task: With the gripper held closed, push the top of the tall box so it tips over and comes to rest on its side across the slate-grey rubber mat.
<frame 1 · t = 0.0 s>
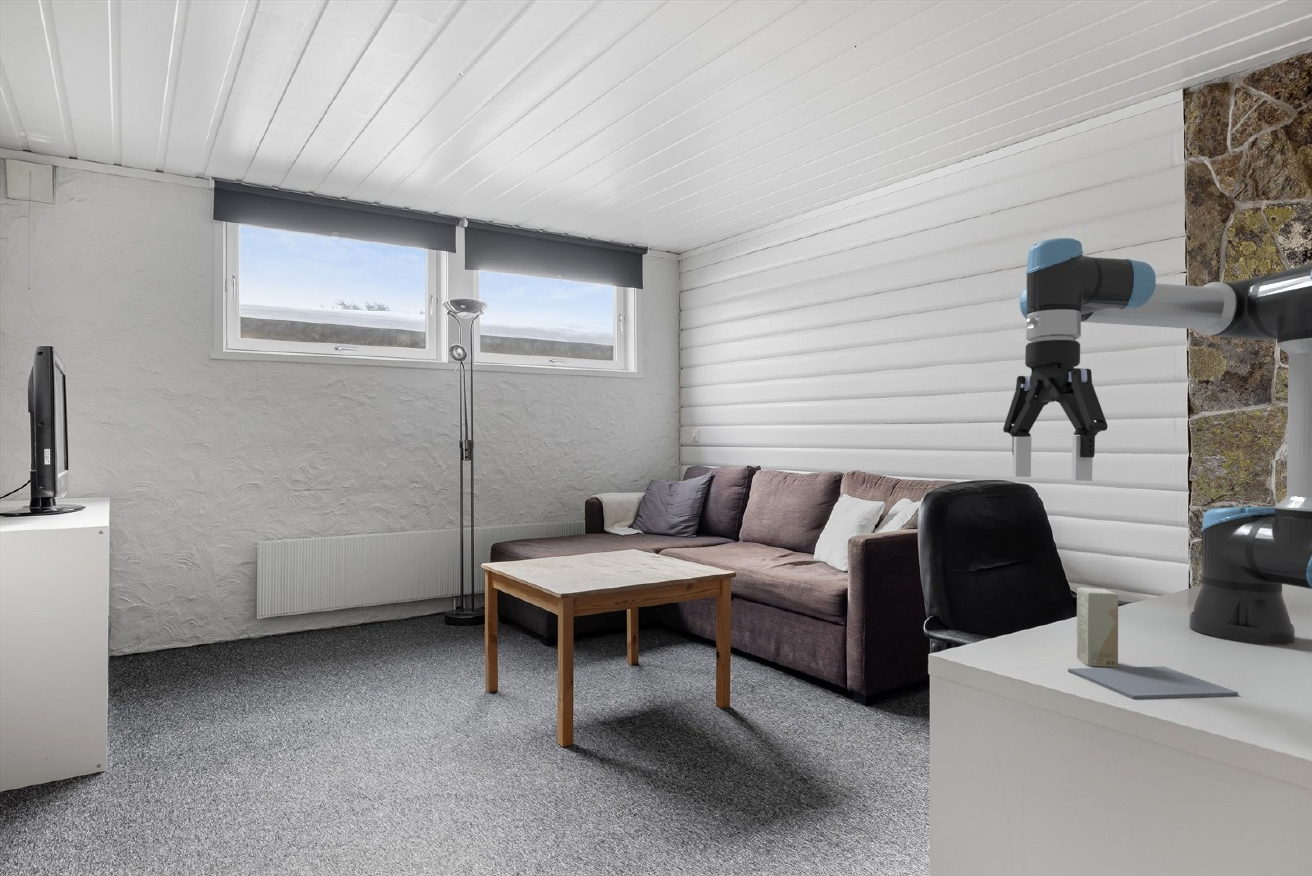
hand: (1050, 478, 116), 28 cm above the table, tool pointing down, fingers open, 13 cm apart
mat: (1149, 682, 105), on the table
box: (1096, 664, 115), on the table
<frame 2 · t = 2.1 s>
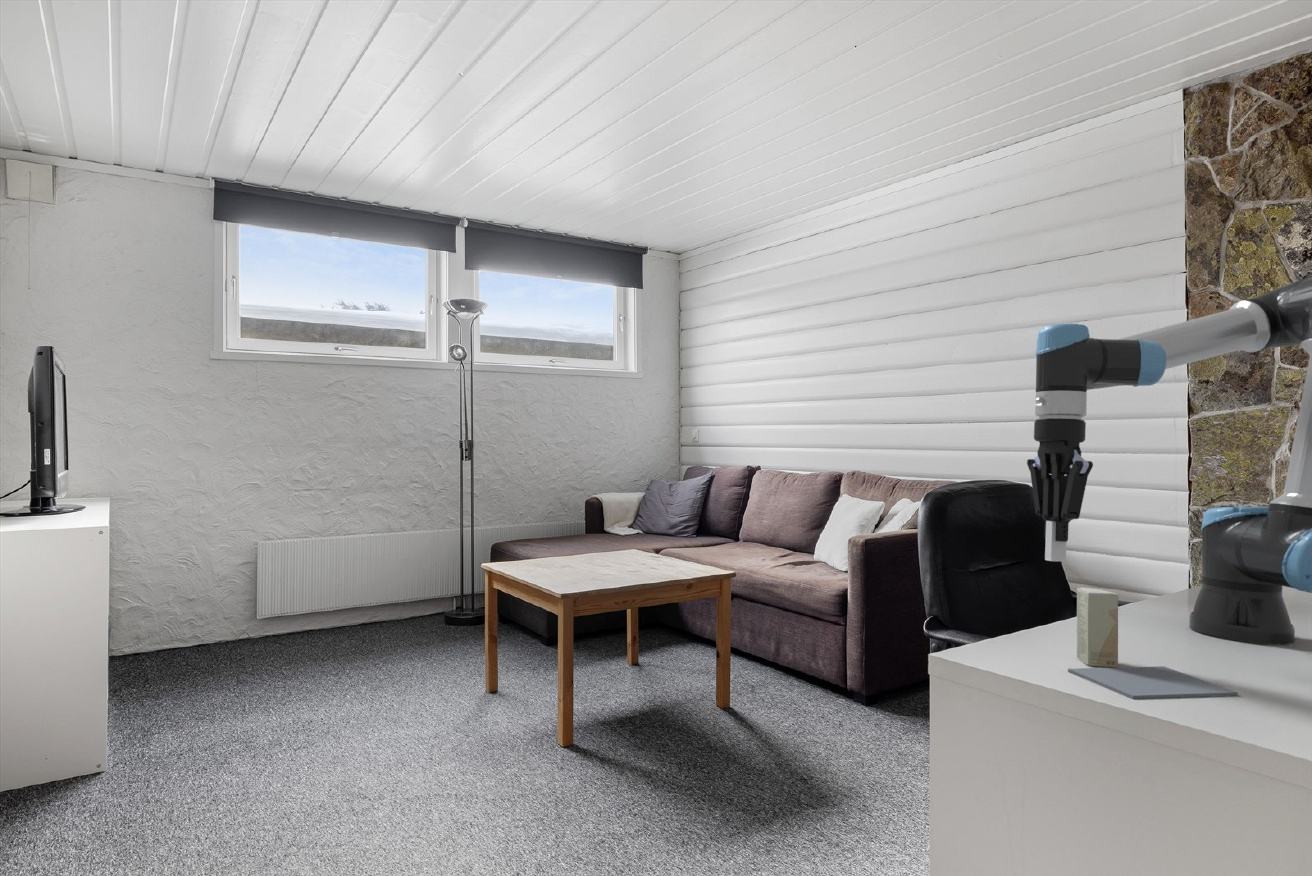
hand: (1055, 560, 124), 14 cm above the table, tool pointing down, fingers closed
nothing on the table moved.
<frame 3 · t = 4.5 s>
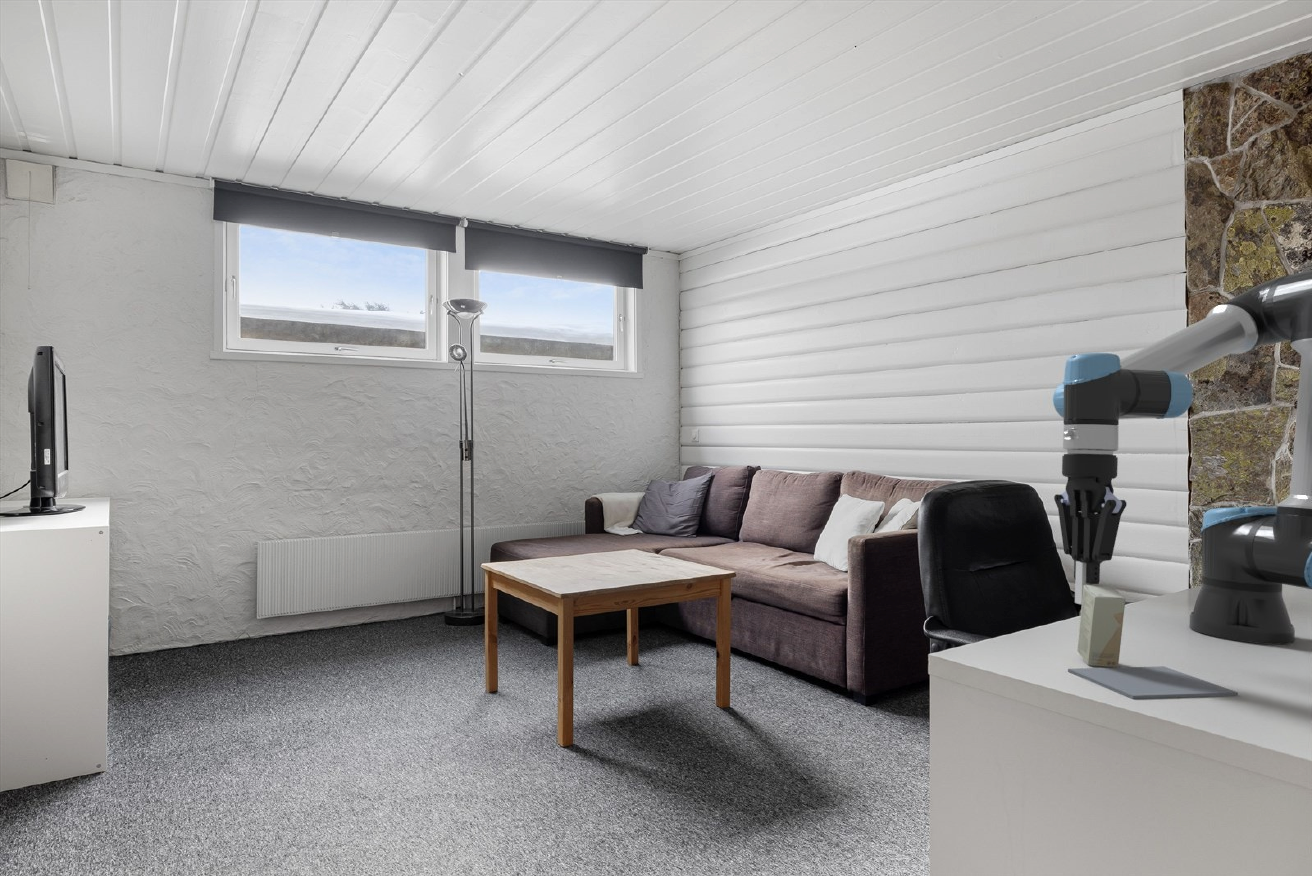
hand: (1085, 603, 117), 9 cm above the table, tool pointing down, fingers closed
box: (1096, 660, 115), on the table, touching gripper
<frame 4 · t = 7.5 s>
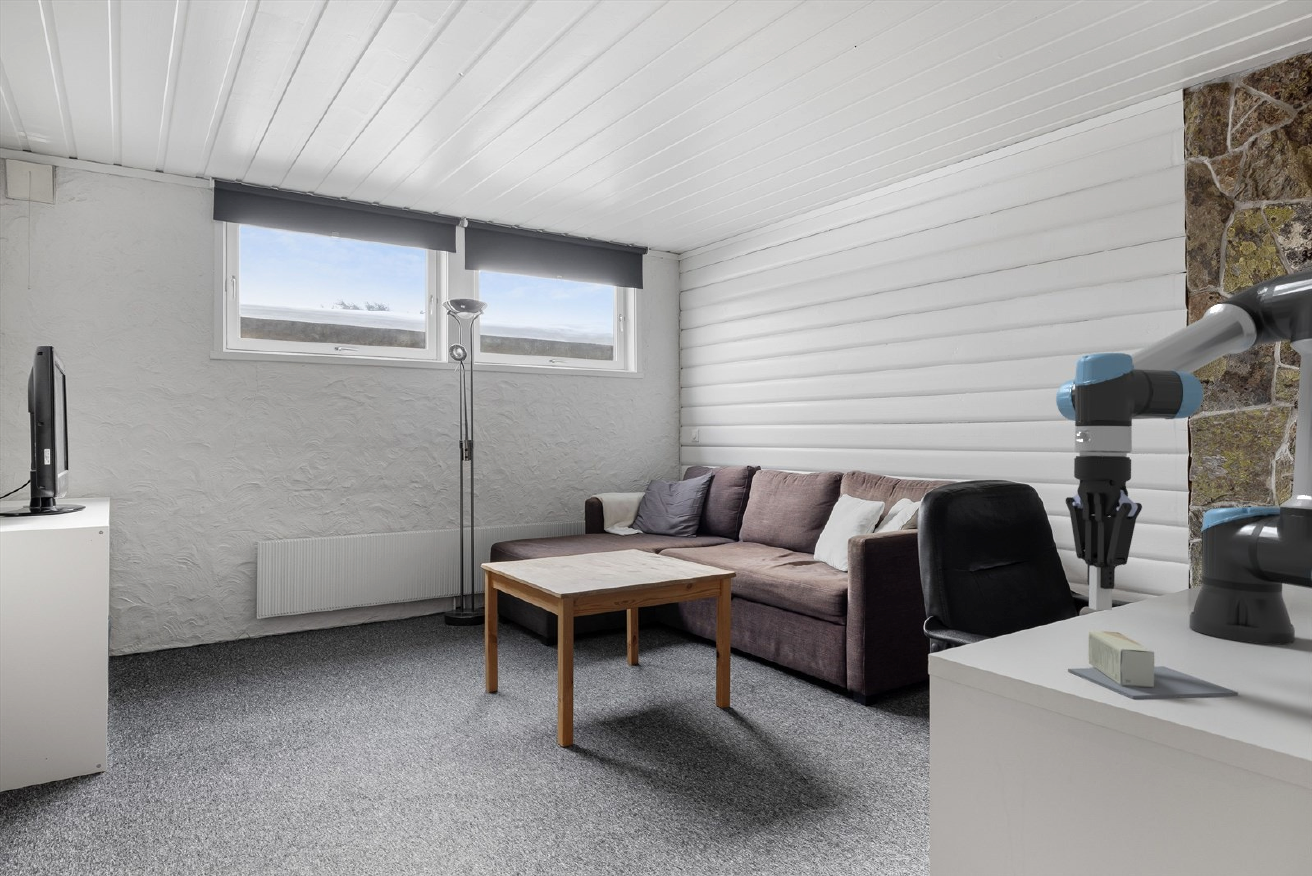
hand: (1100, 608, 115), 8 cm above the table, tool pointing down, fingers closed
box: (1102, 646, 113), point 3 cm above the table, touching mat
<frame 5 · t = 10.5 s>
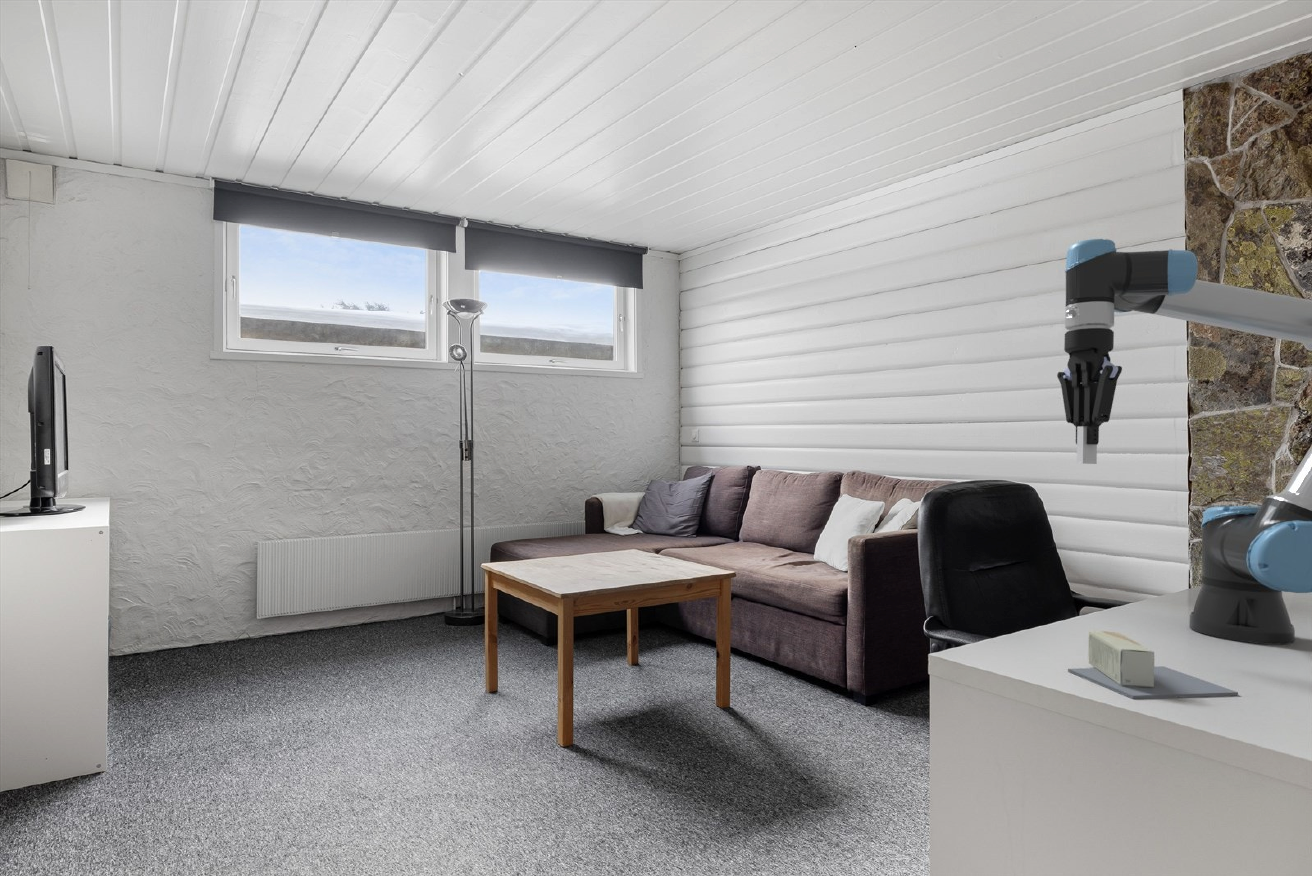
hand: (1086, 463, 132), 30 cm above the table, tool pointing down, fingers closed
nothing on the table moved.
at the end: box tilted 91°; box inside the target area (4.3 cm from its centre), point 3.1 cm above the table; box touching mat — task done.
